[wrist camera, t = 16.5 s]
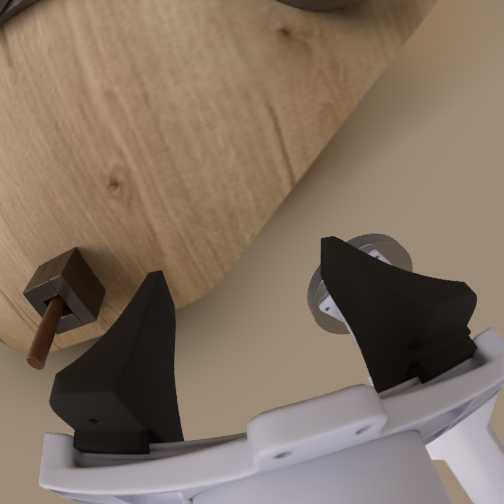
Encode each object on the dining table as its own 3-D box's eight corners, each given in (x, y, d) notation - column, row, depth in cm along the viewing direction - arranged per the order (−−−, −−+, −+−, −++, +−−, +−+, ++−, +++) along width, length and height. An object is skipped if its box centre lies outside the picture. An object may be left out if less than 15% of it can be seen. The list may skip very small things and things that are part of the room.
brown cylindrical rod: (79, 275, 23) (44, 363, 14) (74, 285, 23) (42, 372, 15) (66, 268, 22) (27, 354, 14) (61, 278, 23) (25, 363, 14)
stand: (76, 246, 21) (60, 274, 18) (106, 290, 24) (97, 320, 21) (38, 266, 21) (22, 293, 18) (68, 305, 24) (57, 334, 21)
